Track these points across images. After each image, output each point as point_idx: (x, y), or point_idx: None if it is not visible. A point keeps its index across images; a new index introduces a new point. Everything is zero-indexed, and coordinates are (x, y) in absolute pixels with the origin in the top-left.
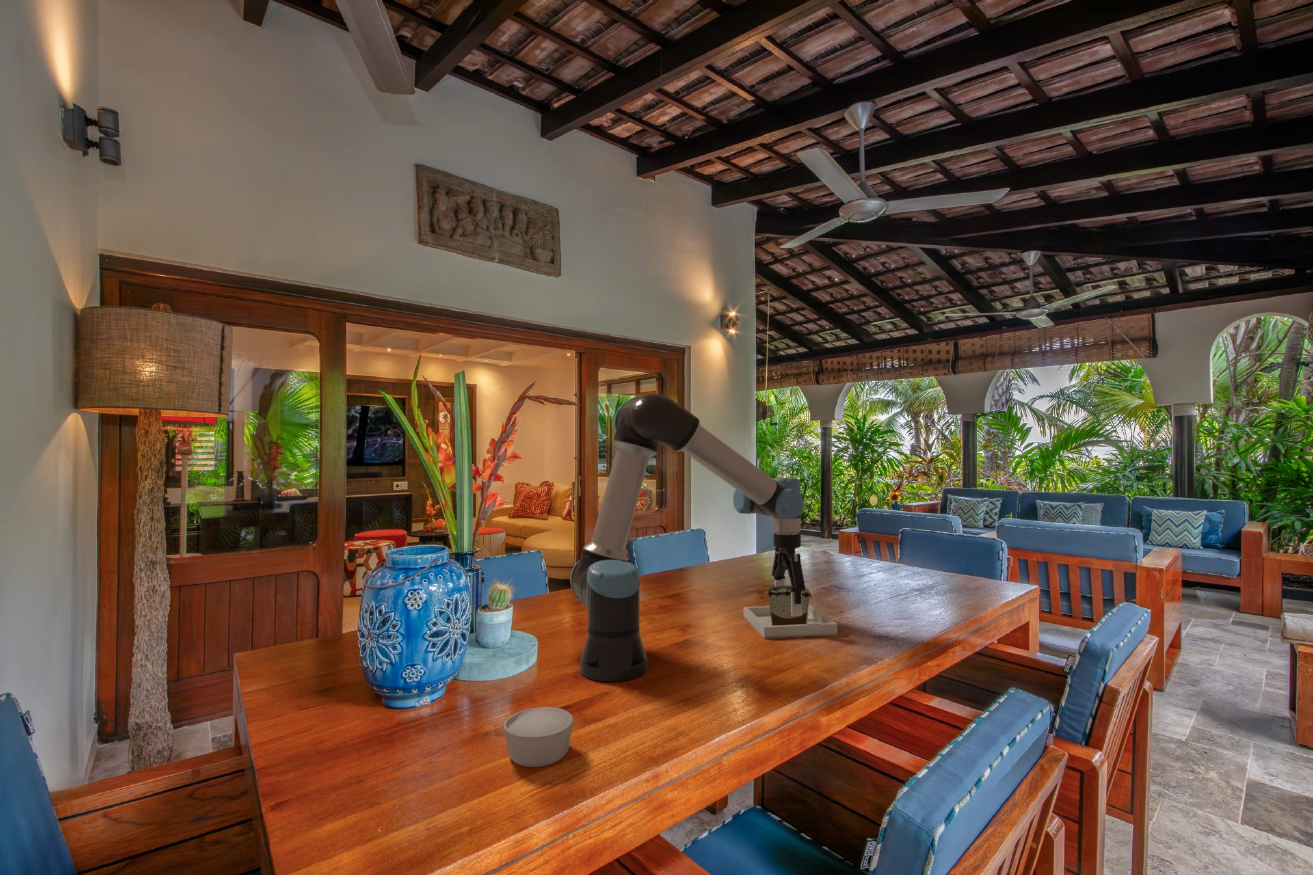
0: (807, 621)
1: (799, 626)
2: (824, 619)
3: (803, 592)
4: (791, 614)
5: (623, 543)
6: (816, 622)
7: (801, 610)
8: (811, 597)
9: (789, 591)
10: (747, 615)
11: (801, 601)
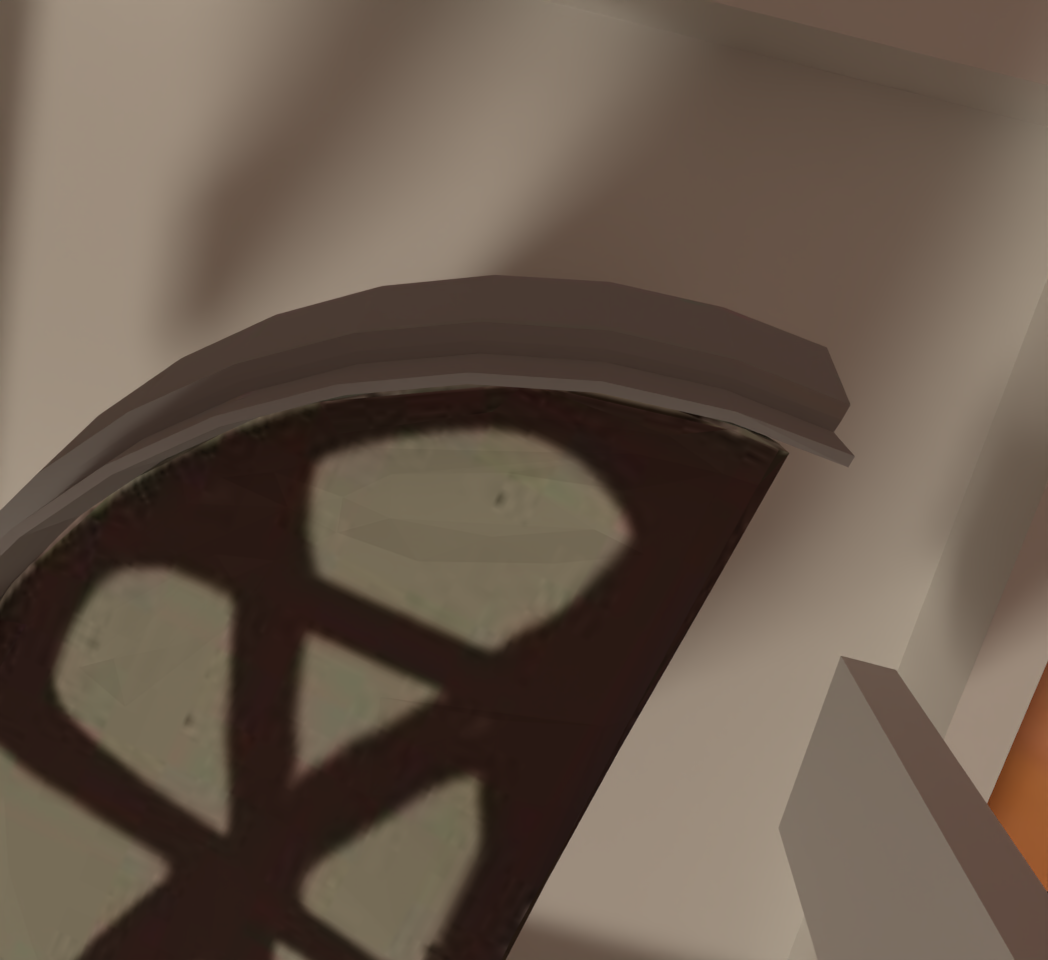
0: (410, 161)
1: (994, 762)
2: (801, 32)
3: (574, 517)
4: (787, 838)
5: None
6: (517, 42)
7: (924, 729)
8: (824, 353)
9: (404, 936)
10: None
11: (1014, 856)
